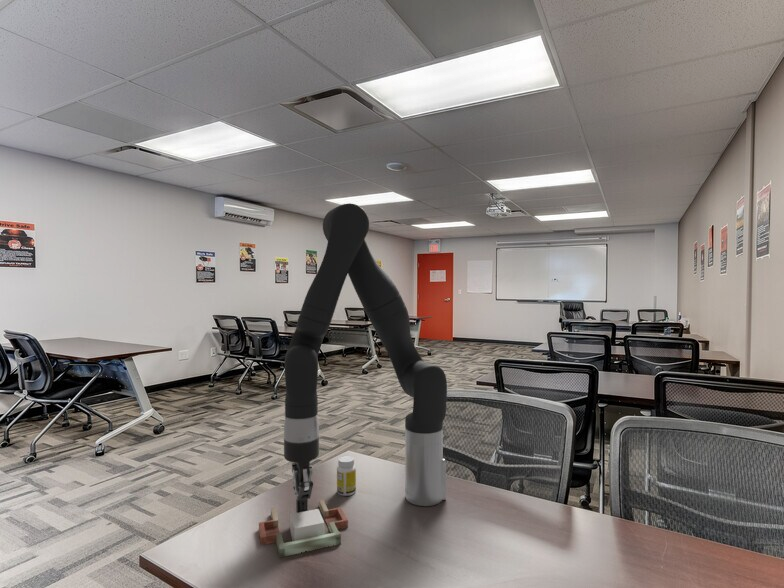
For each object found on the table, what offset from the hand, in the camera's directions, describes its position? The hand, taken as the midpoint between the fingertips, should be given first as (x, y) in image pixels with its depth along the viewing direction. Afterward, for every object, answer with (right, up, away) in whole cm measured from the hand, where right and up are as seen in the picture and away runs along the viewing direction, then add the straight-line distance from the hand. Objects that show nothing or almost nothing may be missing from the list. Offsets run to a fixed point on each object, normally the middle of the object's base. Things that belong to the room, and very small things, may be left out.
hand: (301, 514), depth 94 cm
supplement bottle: (+8, -2, +15) cm, 17 cm away
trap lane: (+1, -2, -2) cm, 3 cm away
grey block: (+2, -2, -5) cm, 6 cm away
